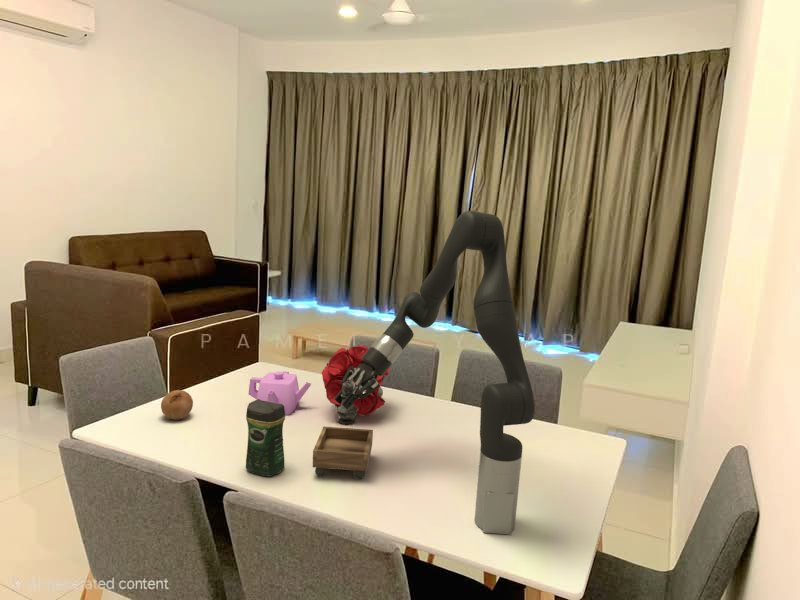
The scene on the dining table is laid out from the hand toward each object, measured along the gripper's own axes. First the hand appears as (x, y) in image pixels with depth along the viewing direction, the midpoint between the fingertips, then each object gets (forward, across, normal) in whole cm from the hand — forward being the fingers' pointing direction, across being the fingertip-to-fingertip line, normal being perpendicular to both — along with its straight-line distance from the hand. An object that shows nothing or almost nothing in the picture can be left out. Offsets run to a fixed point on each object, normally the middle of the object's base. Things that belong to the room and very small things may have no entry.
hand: (340, 404), depth 154 cm
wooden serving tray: (+12, 0, +14) cm, 18 cm away
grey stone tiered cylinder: (+2, 0, +5) cm, 6 cm away
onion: (+33, -53, -8) cm, 63 cm away
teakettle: (+11, -47, +14) cm, 51 cm away
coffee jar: (+25, -8, 0) cm, 26 cm away
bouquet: (-5, -33, +31) cm, 46 cm away
